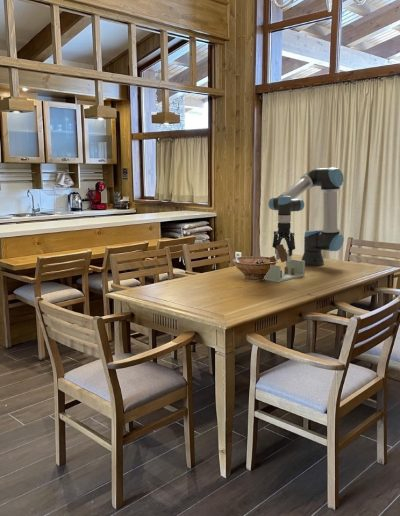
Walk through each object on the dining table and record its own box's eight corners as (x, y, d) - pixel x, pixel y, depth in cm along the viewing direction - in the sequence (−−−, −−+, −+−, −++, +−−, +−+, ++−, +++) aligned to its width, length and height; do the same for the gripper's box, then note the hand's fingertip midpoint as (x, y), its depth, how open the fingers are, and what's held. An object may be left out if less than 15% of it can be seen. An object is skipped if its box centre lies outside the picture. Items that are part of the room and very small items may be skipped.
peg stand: (287, 272, 308) (287, 258, 306) (304, 275, 298) (304, 260, 297) (261, 278, 291) (261, 263, 290) (278, 282, 282) (278, 266, 280)
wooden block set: (282, 262, 303) (277, 247, 304) (295, 258, 299) (289, 242, 300) (270, 266, 288) (264, 249, 289) (283, 261, 284) (277, 244, 285)
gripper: (266, 221, 294) (265, 259, 298) (294, 224, 279) (293, 263, 283) (274, 220, 299) (273, 257, 303) (302, 223, 284) (301, 261, 288)
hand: (283, 260), depth 293 cm, fingers closed on wooden block set, 8 cm apart
